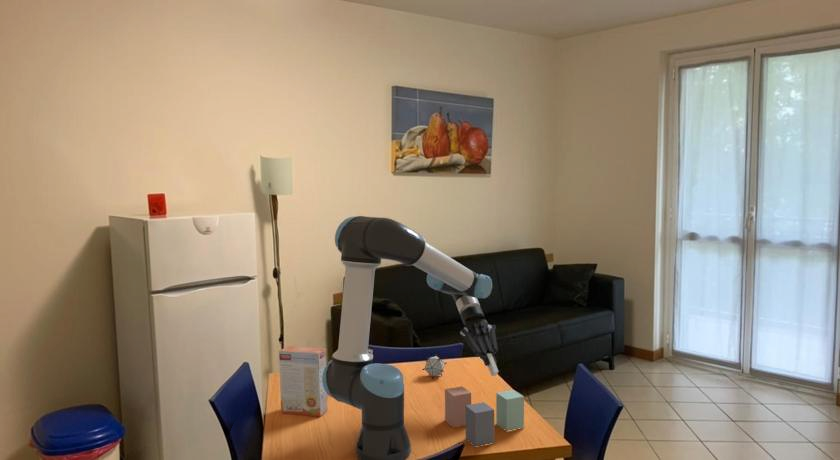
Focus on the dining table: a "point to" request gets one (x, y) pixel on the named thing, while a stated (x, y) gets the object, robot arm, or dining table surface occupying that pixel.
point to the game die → (434, 366)
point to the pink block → (456, 406)
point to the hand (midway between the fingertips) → (495, 373)
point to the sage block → (510, 410)
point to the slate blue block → (479, 424)
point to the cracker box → (302, 381)
